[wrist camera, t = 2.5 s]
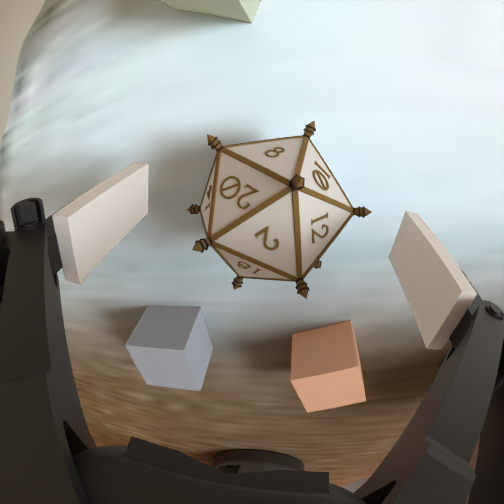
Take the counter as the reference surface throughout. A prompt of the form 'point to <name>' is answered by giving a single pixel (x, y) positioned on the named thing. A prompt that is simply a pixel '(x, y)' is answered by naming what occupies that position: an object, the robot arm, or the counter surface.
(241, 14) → the sage cube
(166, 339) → the slate cube
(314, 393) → the terracotta cube
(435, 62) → the counter surface
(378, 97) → the counter surface
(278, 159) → the game die
